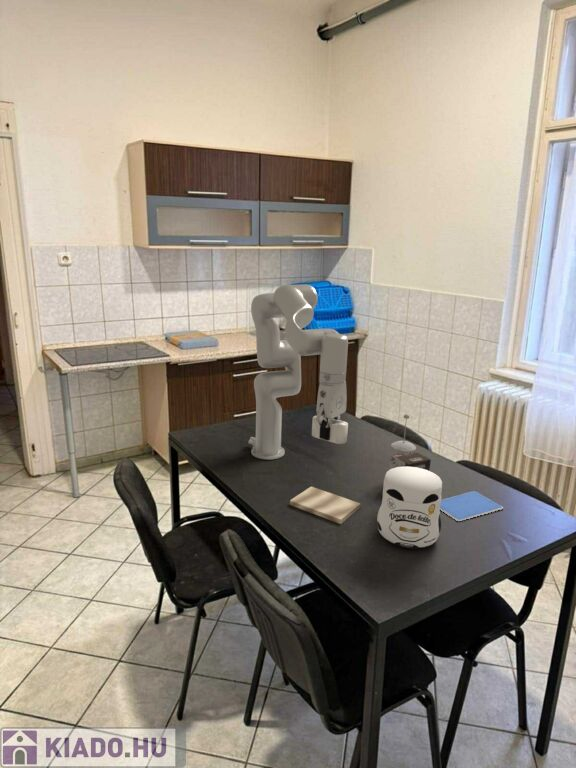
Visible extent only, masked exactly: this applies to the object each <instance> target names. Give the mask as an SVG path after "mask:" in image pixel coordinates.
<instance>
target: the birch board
mask: <svg viewBox="0 0 576 768" xmlns="http://www.w3.org/2000/svg"><path fill="white" fill-rule="evenodd" d="M289 505H290V506H292V507H295V508H297V509H299V510H302V511H305V512H308V513H311V514H314V515H316V516H318V517H321V518H324V519H326V520H328V521H331V522H334V523H337V524H338V525H339V524H340V525H341V524H343V523H344V522H345V521H346V520H348V518H350V517H351V516H353V514H355V513H356V512H357V511H358V510H360V508H361V503H360V502H357V501H354V500H351V499H348V498H346V497H344V496H340V495H337V494H334V493H332V492H330V491H325V490H322V489H320V488H317V487H314V486H310V487H308V488H306V489H305V490H304V491H302V492H301V493H299V494H297V495H296V496H294V497H293V498H291V499H290V500H289Z"/></svg>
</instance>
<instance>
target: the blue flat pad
mask: <svg viewBox="0 0 576 768" xmlns="http://www.w3.org/2000/svg"><path fill="white" fill-rule="evenodd" d="M502 509H503V510H504V507H503V506H502V505H500V504H499V503H497V502H495V501H493V500H492V499H489V498H488V497H486V496H485V495H483V494H481V493H479V492H478V491H474V490H472V491H469V492H465V493H462V494H458V495H455V496H454V495H453V496H451V497H447V498H441V503H440V510H441V511H442V512H441V511H440V512H441V513H443V512H444V513H445V514H444V513H443V514H444V515H446V514H447V515H448V517H449V516H450V517H452V518H453V519H455V520H456V521H462V520H466V519H469V520H471V519H470V518H473V517H476V518H478V517H477V516H479V517H481V516H480V515H482V516H485V515H484V514H486V515H489V514H491V512H492V513H495V511H496V512H499V511H498V510H500V511H503V510H502ZM488 513H489V514H488ZM447 515H446V516H447ZM450 517H449V518H450ZM452 518H451V519H452ZM453 519H452V520H453ZM473 519H474V518H473ZM455 520H454V521H455ZM456 521H455V522H456ZM466 521H467V520H466Z"/></svg>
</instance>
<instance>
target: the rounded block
mask: <svg viewBox="0 0 576 768" xmlns="http://www.w3.org/2000/svg"><path fill="white" fill-rule="evenodd" d="M316 417H317V415H314V416H313V417H312V422H311V423H312V424H311V436H312V437H313V438H317V439H320V440H323V441H327V442H330V443H334V444H336V445H337V444H338V445H343V444H346V443H347V442H348V432H349V431H348V430H349V423H348V422H347V421H344V420H341V419H340V420H337V419H333V418H332V419H330V424H329V427H330V440H324V439H321V438H320V437H319V435H320V426H319V423H318V422H317V421H316ZM324 420H325V421H327V419H325V418H324Z"/></svg>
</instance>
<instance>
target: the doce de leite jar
mask: <svg viewBox="0 0 576 768" xmlns="http://www.w3.org/2000/svg"><path fill="white" fill-rule="evenodd" d="M442 490H443V481H442V479H441V477H440V476H439V475H437V474H436V473H434V472H432V471H431V470H429V471H428V470H425V469H421V468H417V467H408V466H406V467H396V468H392V469H390V470H387V471H386V473H385V475H384V479H383V487H382V500H381V503H380V507H379V509H378V511H377V516H376V517H377V518H376V523H377V530H378V531H379V534H380V536H382V537H383V538H384V539H385V540H386V542H387V541H388V542H389V543H391V544H392V545H395V546H399V547H401V548H403V549H404V548H405V549H413V550H414V549H424V548H428V547H429V546H432V545H434V544H435V542H437V540H438V539H439V536H440V534H441V529H442V519H441V511H440V503H441V500H442V492H443V491H442Z"/></svg>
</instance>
